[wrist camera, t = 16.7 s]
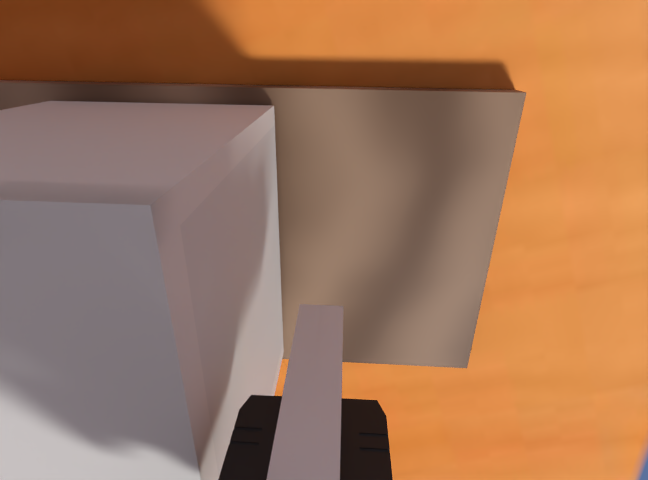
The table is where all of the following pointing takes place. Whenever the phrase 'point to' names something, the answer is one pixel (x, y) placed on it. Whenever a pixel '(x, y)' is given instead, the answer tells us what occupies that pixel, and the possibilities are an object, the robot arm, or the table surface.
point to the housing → (134, 286)
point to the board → (368, 202)
